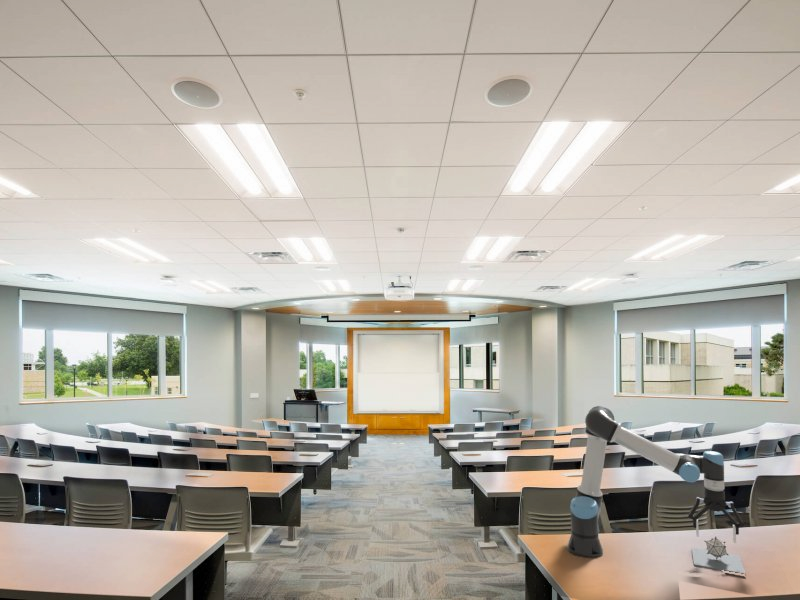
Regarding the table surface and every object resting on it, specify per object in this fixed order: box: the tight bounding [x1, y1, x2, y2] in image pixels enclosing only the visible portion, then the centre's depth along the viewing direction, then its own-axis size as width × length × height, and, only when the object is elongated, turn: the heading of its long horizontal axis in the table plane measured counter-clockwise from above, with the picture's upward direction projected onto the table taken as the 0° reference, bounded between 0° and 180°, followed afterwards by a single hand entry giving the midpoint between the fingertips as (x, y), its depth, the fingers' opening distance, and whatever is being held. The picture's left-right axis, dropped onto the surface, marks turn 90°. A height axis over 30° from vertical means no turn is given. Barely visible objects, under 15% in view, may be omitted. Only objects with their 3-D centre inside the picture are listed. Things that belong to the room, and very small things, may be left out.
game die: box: [704, 535, 729, 559], centre depth 215 cm, size 9×8×10 cm
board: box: [691, 547, 746, 575], centre depth 215 cm, size 18×18×2 cm
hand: (715, 538), depth 215 cm, fingers open, 13 cm apart
